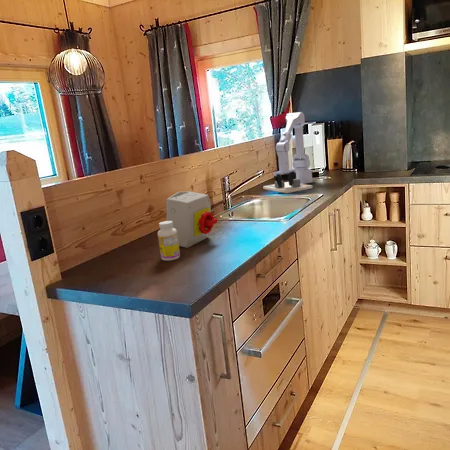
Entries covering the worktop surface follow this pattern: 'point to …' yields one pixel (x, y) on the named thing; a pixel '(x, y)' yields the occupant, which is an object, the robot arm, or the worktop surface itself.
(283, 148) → the robot arm
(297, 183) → the slider
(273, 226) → the worktop surface
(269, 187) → the panel
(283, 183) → the slider
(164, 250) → the supplement bottle
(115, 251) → the worktop surface
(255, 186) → the worktop surface
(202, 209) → the electrical switch box
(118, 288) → the worktop surface
